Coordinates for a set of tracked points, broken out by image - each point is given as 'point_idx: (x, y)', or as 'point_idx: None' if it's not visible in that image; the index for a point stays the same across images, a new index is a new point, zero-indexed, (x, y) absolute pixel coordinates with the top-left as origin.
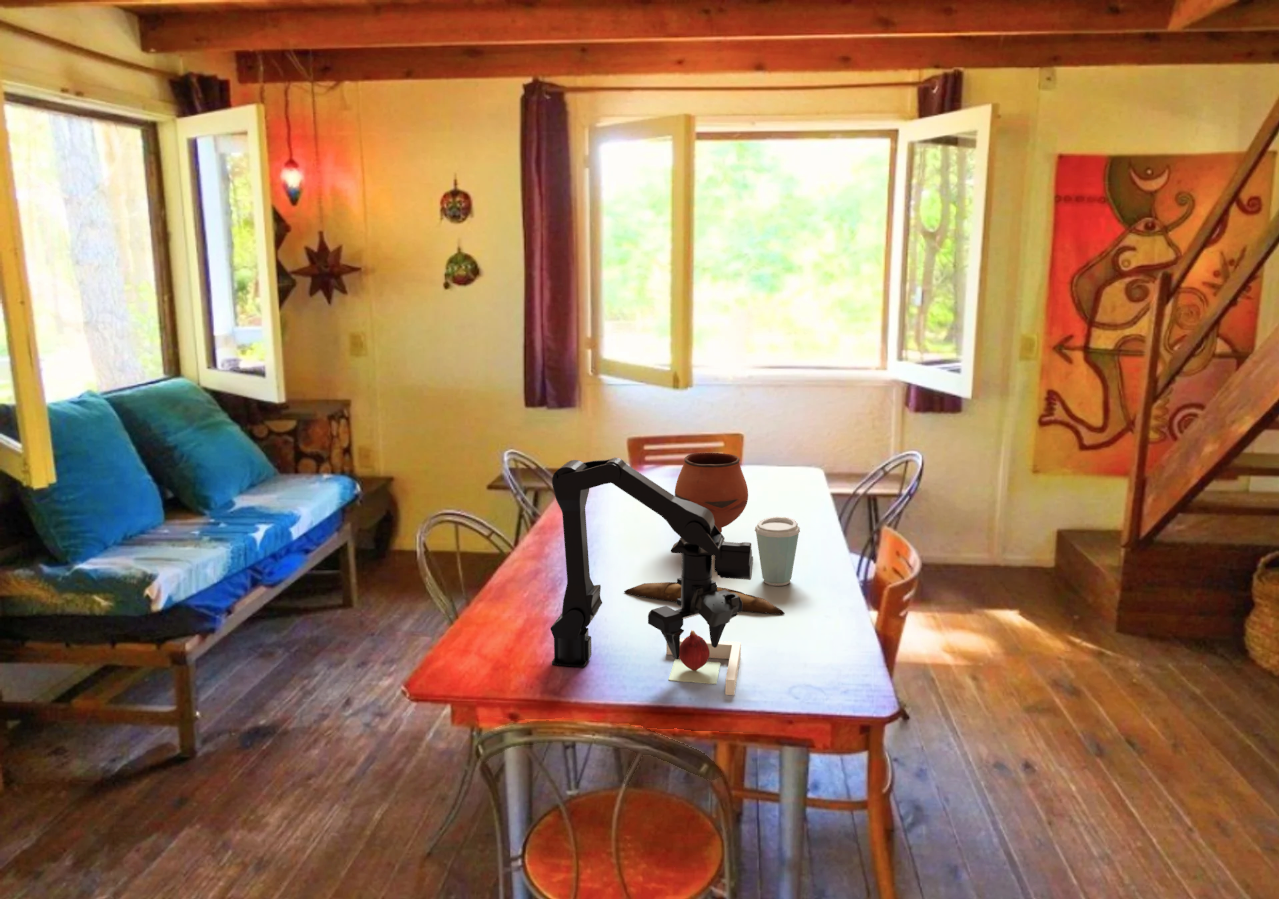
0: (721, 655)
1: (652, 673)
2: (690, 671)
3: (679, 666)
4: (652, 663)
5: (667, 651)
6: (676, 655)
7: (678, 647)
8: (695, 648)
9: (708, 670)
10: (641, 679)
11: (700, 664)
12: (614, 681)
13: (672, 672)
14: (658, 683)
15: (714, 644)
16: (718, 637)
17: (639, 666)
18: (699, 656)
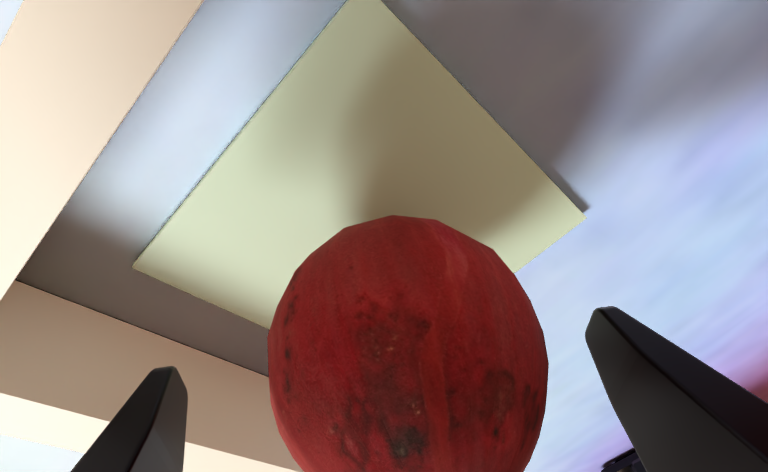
0: (87, 329)
1: (569, 307)
2: None
3: None
4: None
5: None
6: (655, 333)
7: (720, 398)
8: (505, 360)
9: (285, 209)
10: (659, 279)
11: (415, 220)
12: (746, 306)
13: None
14: (647, 210)
15: (170, 398)
16: (107, 470)
17: (553, 371)
18: (457, 270)
